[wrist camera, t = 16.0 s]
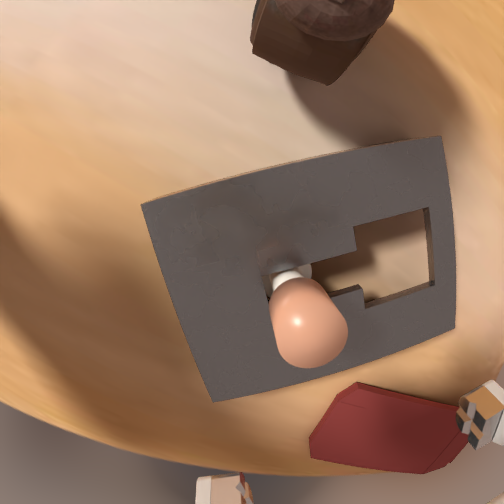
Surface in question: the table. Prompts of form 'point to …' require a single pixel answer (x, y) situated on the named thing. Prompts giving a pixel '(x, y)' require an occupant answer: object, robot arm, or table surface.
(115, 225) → the table surface
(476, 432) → the robot arm
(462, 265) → the table surface
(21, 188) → the table surface
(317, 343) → the peg
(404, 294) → the keyhole board
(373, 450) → the carton
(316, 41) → the alarm clock
